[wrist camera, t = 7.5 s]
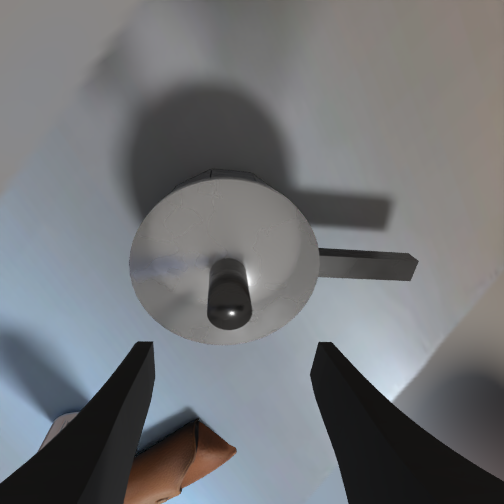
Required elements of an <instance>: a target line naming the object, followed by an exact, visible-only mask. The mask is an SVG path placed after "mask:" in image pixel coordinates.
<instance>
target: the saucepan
mask: <svg viewBox="0 0 504 504" xmlns="http://www.w3.org/2000/svg"><path fill="white" fill-rule="evenodd" d="M213 177H237V178H245V179H249V180H253V181H257V182H259V183H262V184H265V185H267V186H269V185H268V184H266V183H265V182H264V181H262V180H261V179H260V178H258V177H257V176H256V175H254V174H253V173H250V172H240V171H229V170H219V169H212V170H211V169H210V170H208V171H206V172H204V173H202V174H200V175H198V176H196V177H193V178H191V179H189V180H187V181H185V182H183V183H181V184H179V185H177V186H175V188H174V190H176V189H178V188H180V187H182V186H184V185H187V184H189V183H192V182H195V181H198V180H202V179H207V178H213ZM269 187H270V186H269ZM271 188H272V187H271ZM174 190H173V191H174ZM173 191H172V192H173ZM318 249H319V262H320V265H319V273H318V277H331V278H353V279H376V280H399V281H411V278H412V276H413V274H414V271H415V269H416V266H417V264H418V262H419V261H418V260H417V259H415V258H414V257H413V256H411V255H410V254H409V253H395V252H378V251H361V250H344V249H327V248H318Z"/></svg>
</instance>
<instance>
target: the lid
mask: <svg viewBox="0 0 504 504" xmlns="http://www.w3.org/2000/svg"><path fill="white" fill-rule="evenodd" d="M319 265H320V262H319V249H318V244H317V241H316V238H315V235H314V232H313V230H312V228H311V226H310V224H309V222H308V221H307V220H306V218H305V217H304V216H303V214H302V213H301V212H300V210H299V209H298V208H297V207H296V206H295V205H294V204H293V203H292V202H291V201H290V200H289V199H288V198H287V197H285V196H284V195H283V194H281V193H280V192H278V191H276V190H275V189H273V188H271V187H269V186H267V185H265V184H262V183H259V182H257V181H253V180H249V179H245V178H237V177H213V178H207V179H202V180H198V181H195V182H192V183H189V184H187V185H184V186H182V187H180V188H178V189H176V190H174V191H173V192H171V193H170V194H168V195H167V196H165V197H164V198H163V199H162V200H161V201H159V202H158V203H157V204H156V205H155V206H154V207H153V209H152V210H151V211H150V212H149V213H148V215H147V216H146V217H145V219H144V221H143V222H142V224H141V225H140V227H139V228H138V230H137V233H136V235H135V237H134V240H133V243H132V247H131V251H130V260H129V267H130V277H131V281H132V285H133V288H134V290H135V293H136V295H137V297H138V299H139V301H140V303H141V304H142V306H143V307H144V308H145V310H146V311H147V312H148V314H149V315H150V316H151V317H152V318H153V319H154V320H155V321H157V322H158V323H159V324H160V325H162V326H163V327H164V328H166V329H168V330H169V331H171V332H172V333H174V334H176V335H179V336H181V337H183V338H186V339H189V340H192V341H195V342H199V343H204V344H212V345H234V344H241V343H247V342H250V341H254V340H257V339H260V338H263V337H265V336H268V335H269V334H271V333H273V332H275V331H277V330H279V329H280V328H282V327H283V326H285V325H286V324H287V323H288V322H290V321H291V320H292V319H293V318H294V317H295V316H296V315H297V314H298V313H299V312H300V311H301V310H302V308H303V307H304V306H305V304H306V303H307V301H308V300H309V298H310V296H311V295H312V292H313V290H314V287H315V285H316V282H317V278H318V273H319Z"/></svg>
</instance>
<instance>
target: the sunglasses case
mask: <svg viewBox="0 0 504 504" xmlns="http://www.w3.org/2000/svg"><path fill="white" fill-rule="evenodd" d="M198 420H199V418H198V419H197V420H196V421H194V422H190V423H188V424H187V425H185V426H184V427H182V428H180V429H179V430H177V431H176V432H174V433H173V434H171V435H170V436H168V437H166V438H165V439H164V440H162V441H161V442H160V443H157V444H155V445H154V446H153V447H151V448H150V449H148V450H147V451H145V452H144V453H141V454H139V455H138V456H136V457H134V460H133V463H132V467H131V471H130V475H129V480H128V484H127V489H126V494H125V499H124V503H123V504H161V503H164V502H166V501H167V500H169V499H171V498H173V497H175V496H178V495H179V494H181V492H182V488H184V487H186V486H188V485H190V484H192V483H193V482H195V481H197V480H199V479H200V478H203V477H204V476H206V475H207V474H209V473H210V472H212V471H213V470H215V469H217V468H218V467H219V466H221V465H222V464H224V463H225V462H226V461H228V460H229V459H230V458H231V457H232V456H234V454H235V453H236V452H237V451H236V448H235V447H233V446H231V445H229V444H228V443H227V442H226V441H225V440H223V439H222V438H221V437H219V436H218V435H217V434H216V433H214V432H213V431H212V430H211V429H209V428H208V427H206V426H205V425H204V424H203V423H201V422H199V421H198Z"/></svg>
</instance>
